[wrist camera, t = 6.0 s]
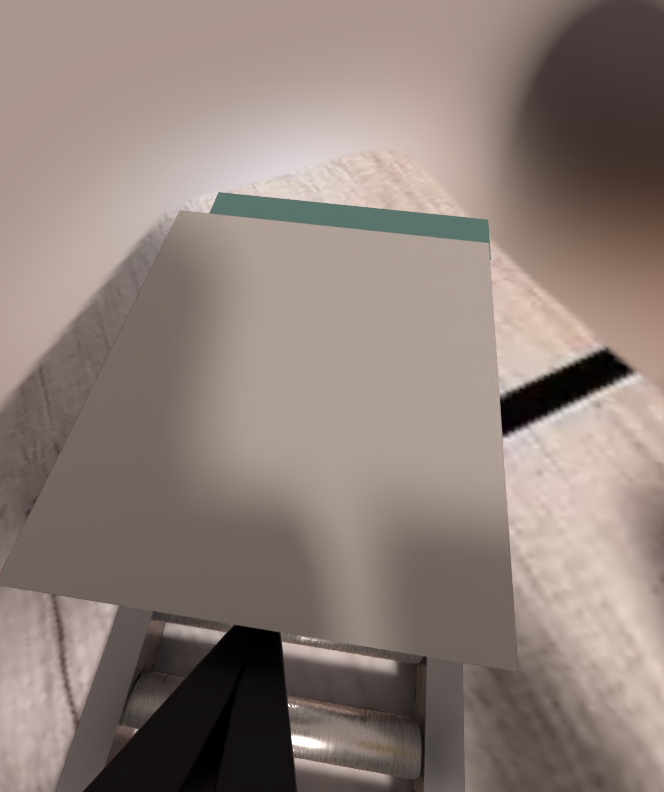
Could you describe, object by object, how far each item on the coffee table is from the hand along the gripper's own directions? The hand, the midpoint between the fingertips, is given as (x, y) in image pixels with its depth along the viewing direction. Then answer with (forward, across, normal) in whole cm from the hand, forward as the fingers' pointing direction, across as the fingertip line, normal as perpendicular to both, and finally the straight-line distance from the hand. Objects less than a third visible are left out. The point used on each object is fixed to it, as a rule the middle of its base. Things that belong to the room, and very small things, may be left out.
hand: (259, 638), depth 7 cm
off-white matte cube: (+8, 0, +1) cm, 9 cm away
